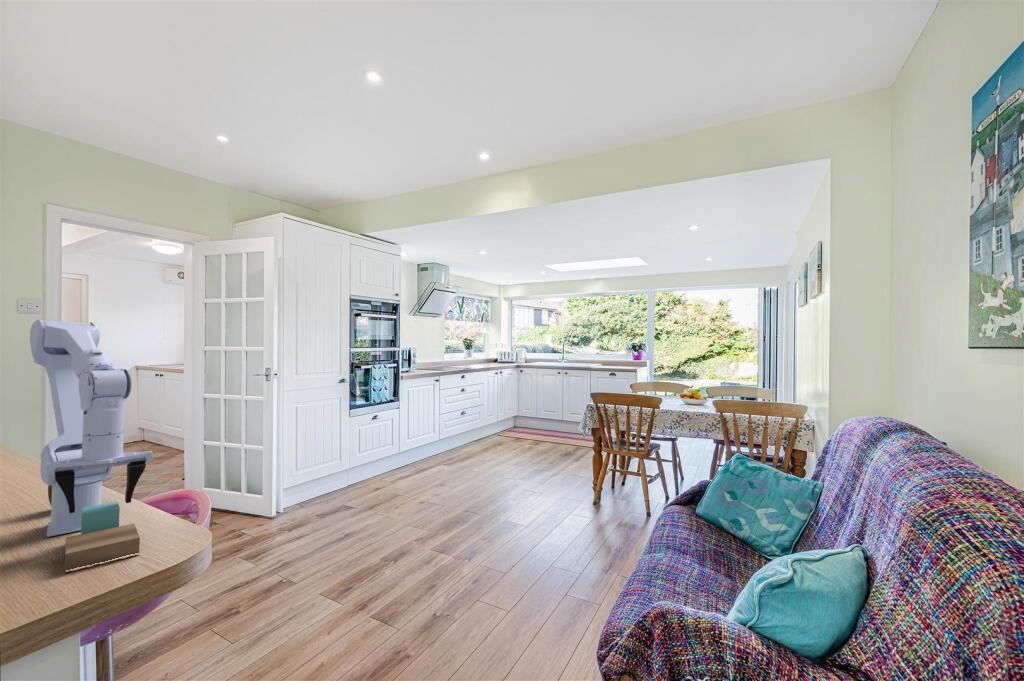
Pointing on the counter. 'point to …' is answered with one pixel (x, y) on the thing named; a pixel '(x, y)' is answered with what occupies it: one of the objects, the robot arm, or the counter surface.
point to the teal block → (100, 517)
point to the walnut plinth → (101, 546)
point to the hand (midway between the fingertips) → (100, 506)
